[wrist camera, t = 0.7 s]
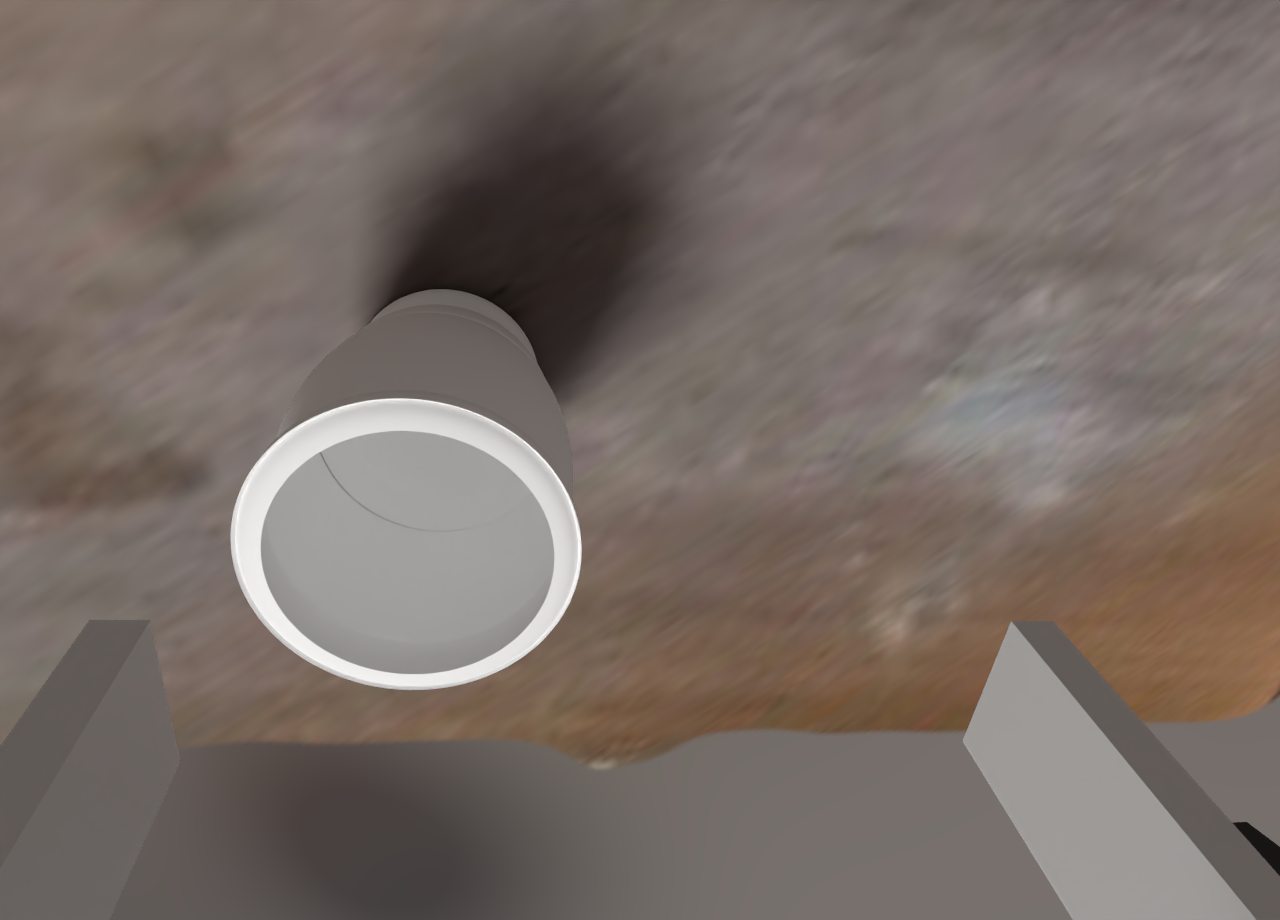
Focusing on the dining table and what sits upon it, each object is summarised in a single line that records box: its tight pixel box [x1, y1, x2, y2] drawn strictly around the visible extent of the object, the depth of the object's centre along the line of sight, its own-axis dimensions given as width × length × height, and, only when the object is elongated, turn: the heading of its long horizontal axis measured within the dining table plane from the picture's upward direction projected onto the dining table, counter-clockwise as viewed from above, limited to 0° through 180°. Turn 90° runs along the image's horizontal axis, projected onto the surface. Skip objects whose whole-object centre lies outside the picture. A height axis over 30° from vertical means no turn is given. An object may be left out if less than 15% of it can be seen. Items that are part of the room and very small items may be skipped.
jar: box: [231, 289, 581, 690], centre depth 31 cm, size 11×10×15 cm
